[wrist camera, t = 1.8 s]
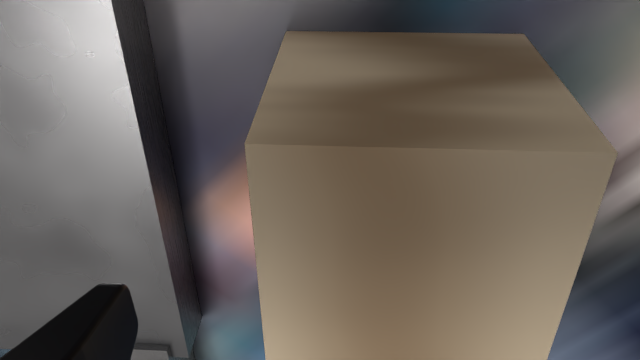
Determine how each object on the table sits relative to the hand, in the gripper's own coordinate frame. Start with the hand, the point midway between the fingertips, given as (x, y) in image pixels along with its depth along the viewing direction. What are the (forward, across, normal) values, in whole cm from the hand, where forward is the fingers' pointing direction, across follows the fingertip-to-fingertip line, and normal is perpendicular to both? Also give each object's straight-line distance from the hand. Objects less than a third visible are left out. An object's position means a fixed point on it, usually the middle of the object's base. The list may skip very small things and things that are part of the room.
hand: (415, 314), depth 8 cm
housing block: (+6, 0, 0) cm, 6 cm away
